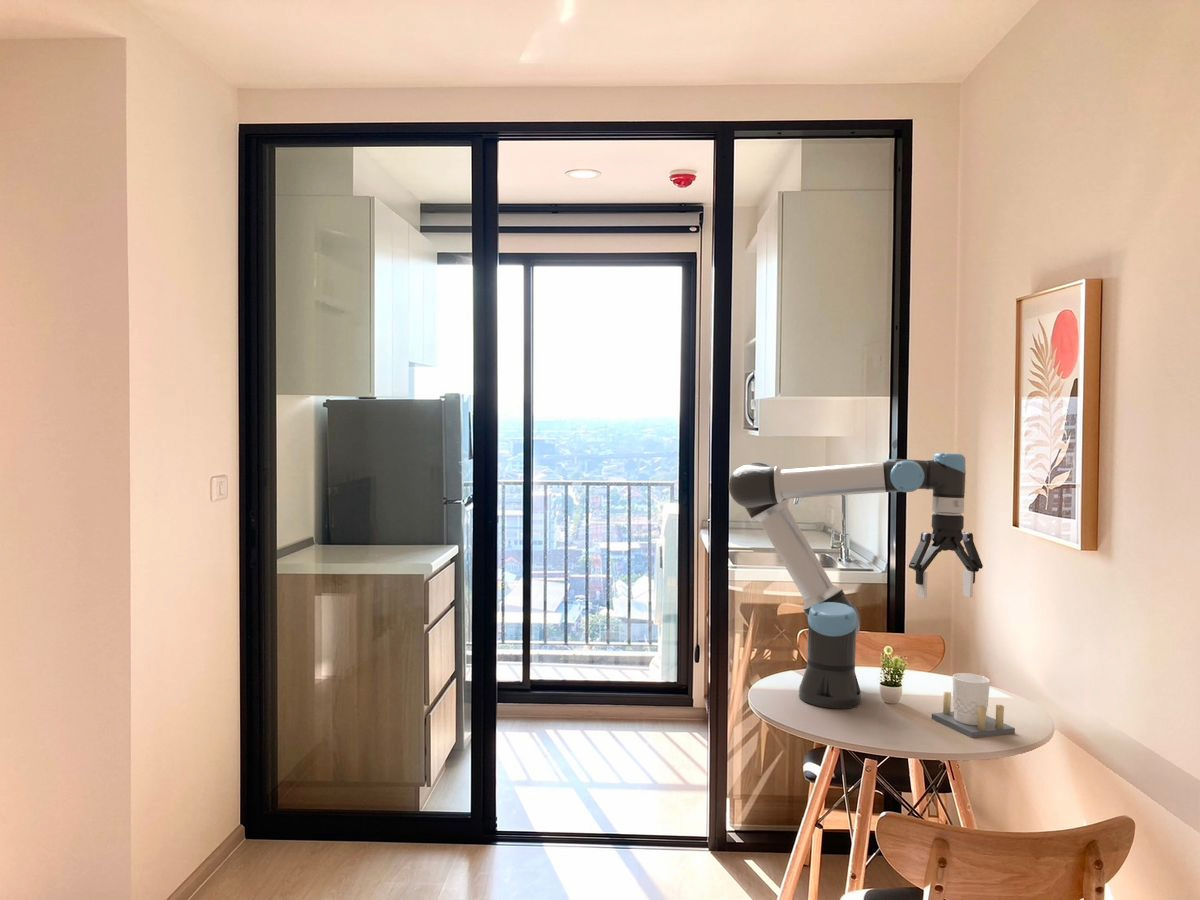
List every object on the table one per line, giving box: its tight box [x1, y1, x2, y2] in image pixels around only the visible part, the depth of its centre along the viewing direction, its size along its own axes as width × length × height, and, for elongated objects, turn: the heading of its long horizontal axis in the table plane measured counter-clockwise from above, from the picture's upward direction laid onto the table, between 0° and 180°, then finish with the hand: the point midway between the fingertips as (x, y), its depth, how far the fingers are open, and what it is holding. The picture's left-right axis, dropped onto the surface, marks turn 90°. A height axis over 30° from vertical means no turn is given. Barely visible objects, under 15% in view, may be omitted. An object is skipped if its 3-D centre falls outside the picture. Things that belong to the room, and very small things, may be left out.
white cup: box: [952, 672, 991, 725], centre depth 192 cm, size 8×8×10 cm
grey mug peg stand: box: [931, 691, 1016, 739], centre depth 192 cm, size 12×13×6 cm
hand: (944, 596), depth 212 cm, fingers open, 13 cm apart
